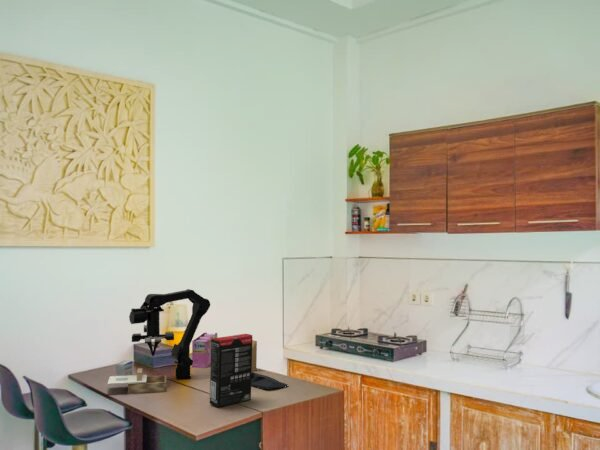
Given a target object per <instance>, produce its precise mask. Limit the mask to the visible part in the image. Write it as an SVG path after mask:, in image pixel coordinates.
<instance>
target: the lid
mask: <svg viewBox="0 0 600 450" xmlns="http://www.w3.org/2000/svg"><path fill="white" fill-rule="evenodd" d="M147 376H148V374H143V367H139V368H137V369H136V374H133V375H127V376H116V375H110V376H109V378H108V381H107V386H114V385H118V386H119V385H128V384H136V383H146V381H147Z"/></svg>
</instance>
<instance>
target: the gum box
mask: <svg viewBox="0 0 600 450" xmlns="http://www.w3.org/2000/svg"><path fill="white" fill-rule="evenodd" d="M212 338H218V333H217V332H215V333H208V332H203V333H202V334H201V335H199V336H198V337H196V338H195V339H192V341H191V343H192V347H191V348H192V351H191V360H193V363H192V365H191V368H201V369H202V368H203V369H205V368H208V367H209V366H211V339H212Z"/></svg>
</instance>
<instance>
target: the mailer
mask: <svg viewBox="0 0 600 450" xmlns="http://www.w3.org/2000/svg"><path fill="white" fill-rule="evenodd" d="M151 392H152V393H164V392H165V393H166V392H167V375H150V376H149V375H147V381H146V383H136V384H127V394H128V395H131V394H134V395H136V394H151Z"/></svg>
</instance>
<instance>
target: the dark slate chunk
mask: <svg viewBox="0 0 600 450" xmlns="http://www.w3.org/2000/svg"><path fill="white" fill-rule="evenodd" d="M287 385H288V384H287V383H285V382H281V381H279V380H278V379H276V378H273V377H271V376H268V375H266V374H261V373H257V372H255V371H253V372H251V387H254V386H255V387H254V388H257V387H259V388H258V389H261V388H263V389H262V390H264V389H265V390H266V389H268V390H267V391H270V390H274V388H278V389H283V388H282V387H285V386H287ZM269 389H270V390H269Z"/></svg>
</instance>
